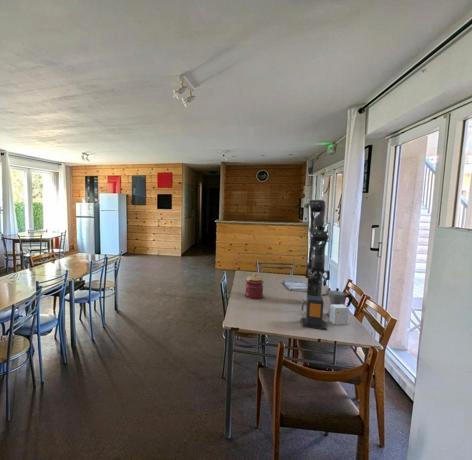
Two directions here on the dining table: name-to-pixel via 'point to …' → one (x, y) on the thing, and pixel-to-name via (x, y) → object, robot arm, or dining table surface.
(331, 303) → the coffeepot
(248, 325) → the dining table surface
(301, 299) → the push plate
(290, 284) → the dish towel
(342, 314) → the small box
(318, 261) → the robot arm
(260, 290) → the kitchen canister
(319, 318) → the dispenser
